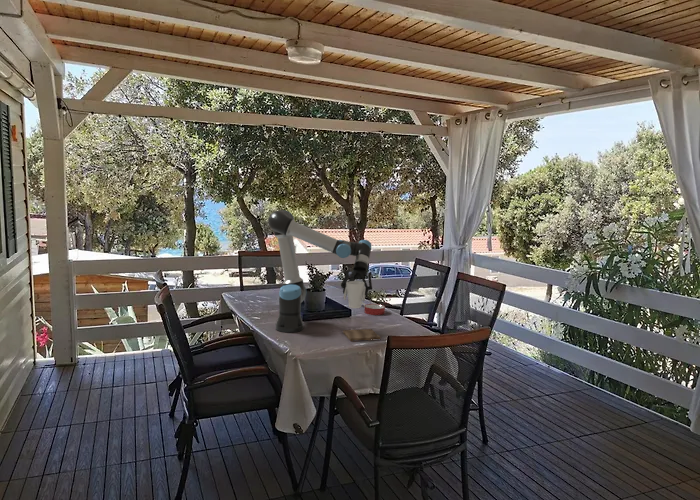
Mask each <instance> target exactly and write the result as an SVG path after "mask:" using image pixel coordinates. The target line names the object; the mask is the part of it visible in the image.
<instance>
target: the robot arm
mask: <svg viewBox="0 0 700 500" xmlns="http://www.w3.org/2000/svg"><path fill="white" fill-rule="evenodd" d="M267 224H268V226H269V228H270V229H271V230H272V231H273V235H274V237H276V238H277V241H278V247H279V248H278V249H279V253H280V260H281V265H282V270H283V276H284V281H283V282H282V286H281V287H280V288H279V292H278V297H279V298H278V299H279V300H278V304H279V305H278V317H277V320H276V323H275V331H278V332H283V333H298V332H301V331H303V330H304V322H303V319H302V316H301V311H302V310H301V308H302V307H301V305H302V303H303V302H304V300H305V299H306V298H307V294H308V293H307V287H306V286H305V284H304V279H303V278H302V277H301V276H300V271H299V264H298V259H297V251H296V248H295V247H296V246H295V242H294V238H296V239H298V240H301V241H304V242H305V243H308V244H310V245H313V246H314V247H315V246H316V247H317V248H320V249H323V250H325V251H327V252H330V253H331V254H334V255H335V256H338V257H339V258H341V259H346V258H348V257H349V256H352V257H355V259H354V264H353V268H352V271H349V270H347V271H346V273H345V276H344V278H343V280H342V282H341V283H340V288H341V289H343V290H342V292H343V293H342V294H343V300H344V301H346V300H347V297H348V294H347V287H346V283H347V282H349V281H358V280H359V281H361V282H364V291H363V297H362V302H365V299H366V296H368V294H369V291H371V290H373V283H372V276H373V275H372V272H368V268H369V263H370V262H369V261H370V257H371V251H372V242H370V241H369V240H368V239H361V240H359V242H353V241H349V240H344V239H342V240H341V239H337V238H334V237H332V236H329V235H327V234H324V233H323V232H320V231H317V230H315V229H313V228H311V227H308V226H305V225H304V224H301V223H299V222H296V221H295V217H294V216H293V213H292V212H290V211H288V210H286V209H281V210H275V211H273V212H272V213H270V214H269V216H268V218H267ZM365 277H367V278H368V284H367V281H366V279H365Z"/></svg>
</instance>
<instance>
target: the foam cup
mask: <svg viewBox="0 0 700 500" xmlns="http://www.w3.org/2000/svg"><path fill="white" fill-rule="evenodd" d="M346 287H347V302H348V307H349V308H350V309H361V308H362V306H363V304H362V302H363V299H362V297H363V292H364V288H365V285H364V282H363V281H362V280H359V281H358V280H355V281H349V282H348V281H347V282H346Z"/></svg>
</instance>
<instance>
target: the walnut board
mask: <svg viewBox="0 0 700 500" xmlns="http://www.w3.org/2000/svg"><path fill="white" fill-rule="evenodd" d="M342 334H343V335H344V336H345V337H346V338H347V339H348V340H349V341H350V342H354V341H353V340H368V341H374V340H373V339H380V340H381V336H380V335H379V334H378V333H377V332H376V331H374V330H373V329H372V328H365V329H364V328H363V329H343V331H342ZM371 339H372V340H371Z"/></svg>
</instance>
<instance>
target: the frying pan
mask: <svg viewBox="0 0 700 500" xmlns="http://www.w3.org/2000/svg"><path fill="white" fill-rule="evenodd" d="M362 306H364V310H363V311H364V314H367V315H368V316H383V315H385V314H386V306H385V305H383V304H379V303H367V304H366V303H365V302H364V301H362Z"/></svg>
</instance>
